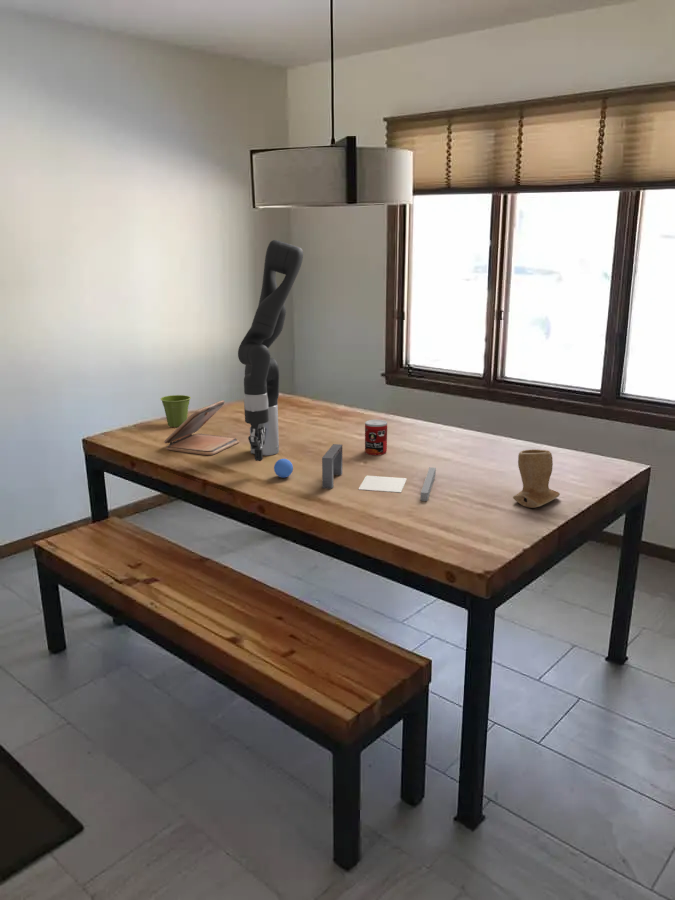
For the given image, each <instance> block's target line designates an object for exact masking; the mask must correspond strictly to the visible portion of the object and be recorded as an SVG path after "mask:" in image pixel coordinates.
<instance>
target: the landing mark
mask: <svg viewBox="0 0 675 900" xmlns="http://www.w3.org/2000/svg"><path fill="white" fill-rule="evenodd" d="M406 482H407V478H405V477H392V476H378V475H377V476H376V475H366V476H365V477H364V479H363V481H362V482H361V483H360V485H359V487H358V490H359V491H360V490H362V491H373V492H374V491H375V492H385V493H386V492H388V493H398V494H399V493H402V491H403V489H404V487H405V485H406Z"/></svg>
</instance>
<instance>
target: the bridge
mask: <svg viewBox="0 0 675 900" xmlns="http://www.w3.org/2000/svg"><path fill="white" fill-rule="evenodd" d="M321 470H322V471H321V479H322V480H321V481H322V482H321V483H322V484H321V485H322V487H321V488H322V489H329V490H331V489H333V488H334V476H342V475H343V444H340V443H332V445H331V446H330V448H329V449H328V450H327V451H326V452H325V454H324V455H323V456H322V457H321Z"/></svg>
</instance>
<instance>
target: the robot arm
mask: <svg viewBox="0 0 675 900" xmlns="http://www.w3.org/2000/svg"><path fill="white" fill-rule="evenodd" d="M303 259H304V250H303V249H302V248H301V247H300V246H297V245H294V244H290V243H287V242H286V241H285V242H284V241H280V240H277V239H272V240H271V241H270V242H269V243H268V246H267V248H266V252H265V257H264V265H263V275H262V282H261V283H262V285H261V292H260V296H259V301H258V306H257V309H256V311H255V313H254V317H253V320H252V323H251V326H250V327H249V329H248V330H247V332H246V334H245V336H244V337H243V339H242V340H241V342H240V343H239V346H238V351H237V358H238V361H239V362H240V364H242V365H244V366H245V367H244V378H243V389H244V390H243V391H244V396H243V405H244V406H243V407H244V409H243V410H244V421H245V423H246V424H249V425H250V426H249V436H248V437H247V438H248V442H249V445H250V454H254V461H256V462H261V461H262V460H263V459H264V458H263V457H264V456H272V455H276V454H279V452H280V450H279V449H280V445H279V443H280V442H279V441H280V439H279V436H280V435H279V413H278V412H279V410H278V409H279V406H278V405H279V404H278V403H279V402H278V399H279V396H280V395H279V394H280V392H279V391H280V369H279V364H278V361H277V360H276V359H275V358H273V357H271V353H270V350H269V349H270V347H271V346H272V345H273V344H274V342H275V341H276V340H277V339H278V337H279V336H280V335H281V334H282V331H283V329H284V325H285V319H286V313H287V311H286V310H287V309H286V304H285V302H286V300H287V298H288V296H289V294H290V292H291V290H292V288H293V285H294V283H295V282H296V278H297V276H298V275H299V272H300V269H301V266H302V263H303ZM276 273H280V274H281V275H285V276H284V278H283V281H281V283H280V284H279V286H278V283H277V276H276Z"/></svg>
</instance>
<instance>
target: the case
mask: <svg viewBox="0 0 675 900" xmlns="http://www.w3.org/2000/svg"><path fill="white" fill-rule="evenodd" d="M224 405H225V400H224V399H223V400H220V401H216V402H214V403H212V404H209V405H207V406H205V407H202V408H200V409H198V410H196V411H194V412H193V413H191V414H190V415H189V417H188V416H187V419H186V420H185V421H184V422H183V423H182V424H181V425H180V426H179V427H176V429H175V430H173V432H172V433H171V434H170V435H169V436H168V437H167V438H165V440H164V442H163V443H164V444H168V445H167V446H166V447H165V449H166V450H167V451H173V452H180V453H188V454H196V455H203V456H214V455H216V454H219V453H220V452H223V451H225V450H227V449H229V448H231V447H233V446H235V445H238V444H239V443H240V440H239V439H237V438H235V437H229V436H224V435H223V436H222V435H215V434H207V433H197V431H199V430H200V429H201V428H202V427H203V426H204V425H205V424H206V423H207V422H208V421H209V420H210V419H212V417H213V416H214V415H215V414H216V413H217V412H218V411H220V410H221V409H222V408H223V406H224Z"/></svg>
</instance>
